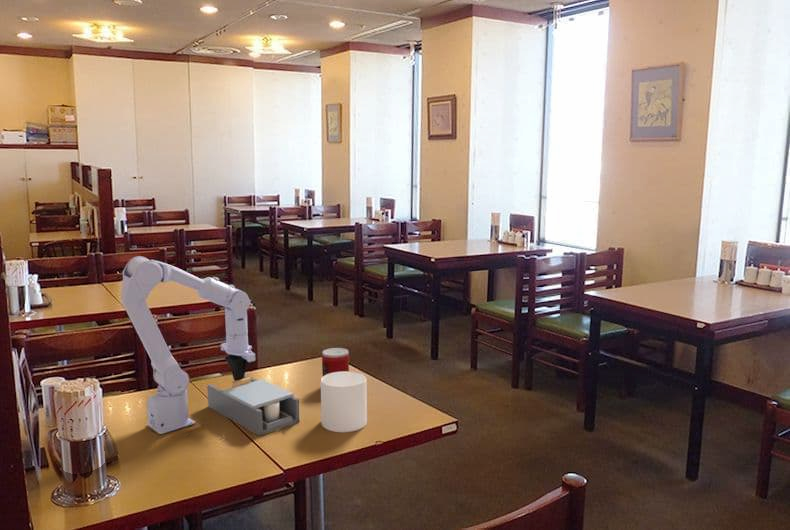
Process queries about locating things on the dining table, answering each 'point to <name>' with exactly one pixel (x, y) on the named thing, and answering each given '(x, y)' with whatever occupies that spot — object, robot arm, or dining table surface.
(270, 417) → the white rounded cylinder
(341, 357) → the canned food
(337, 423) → the white cylinder
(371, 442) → the dining table surface
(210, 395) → the housing
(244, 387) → the lid
